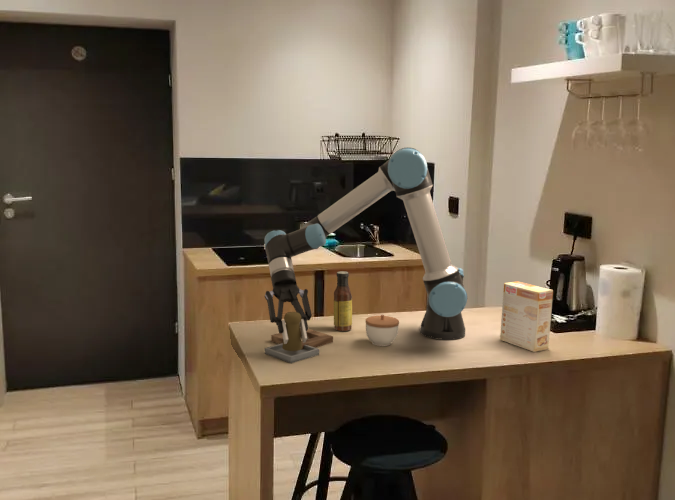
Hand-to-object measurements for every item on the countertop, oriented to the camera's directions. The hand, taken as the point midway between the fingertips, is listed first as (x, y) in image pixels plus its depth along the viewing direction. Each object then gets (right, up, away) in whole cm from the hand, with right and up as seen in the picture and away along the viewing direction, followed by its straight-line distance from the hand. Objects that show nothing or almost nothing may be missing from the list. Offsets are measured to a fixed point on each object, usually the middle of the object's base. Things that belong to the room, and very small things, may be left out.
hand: (295, 340), depth 210 cm
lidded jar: (+27, -3, +18) cm, 32 cm away
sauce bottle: (+14, 0, +32) cm, 35 cm away
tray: (-1, -5, +4) cm, 7 cm away
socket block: (+1, -2, +17) cm, 17 cm away
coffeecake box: (+73, -4, +21) cm, 76 cm away
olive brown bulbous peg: (-1, -3, +4) cm, 5 cm away
